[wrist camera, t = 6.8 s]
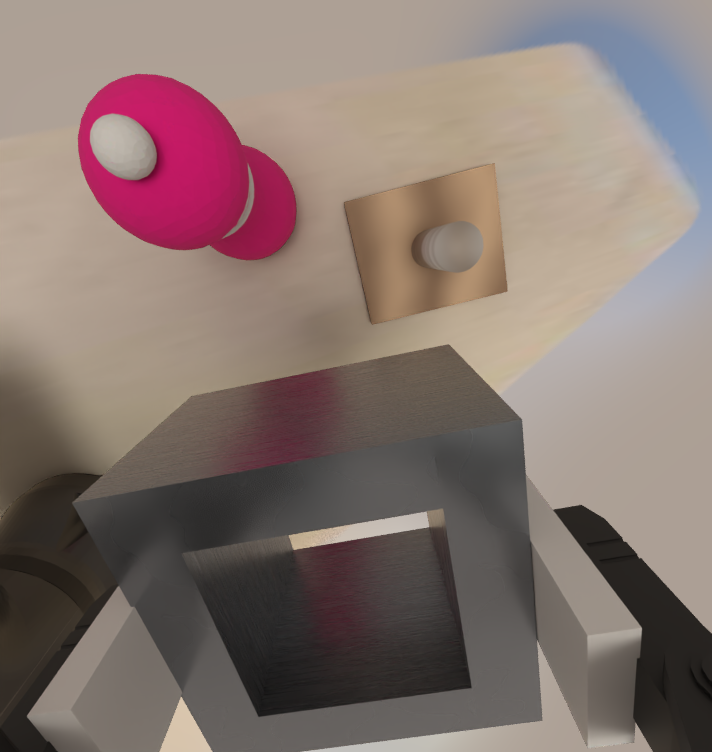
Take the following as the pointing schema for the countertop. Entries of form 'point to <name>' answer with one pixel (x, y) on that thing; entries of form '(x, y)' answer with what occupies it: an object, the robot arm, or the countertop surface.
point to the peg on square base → (429, 244)
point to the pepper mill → (181, 171)
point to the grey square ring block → (332, 555)
